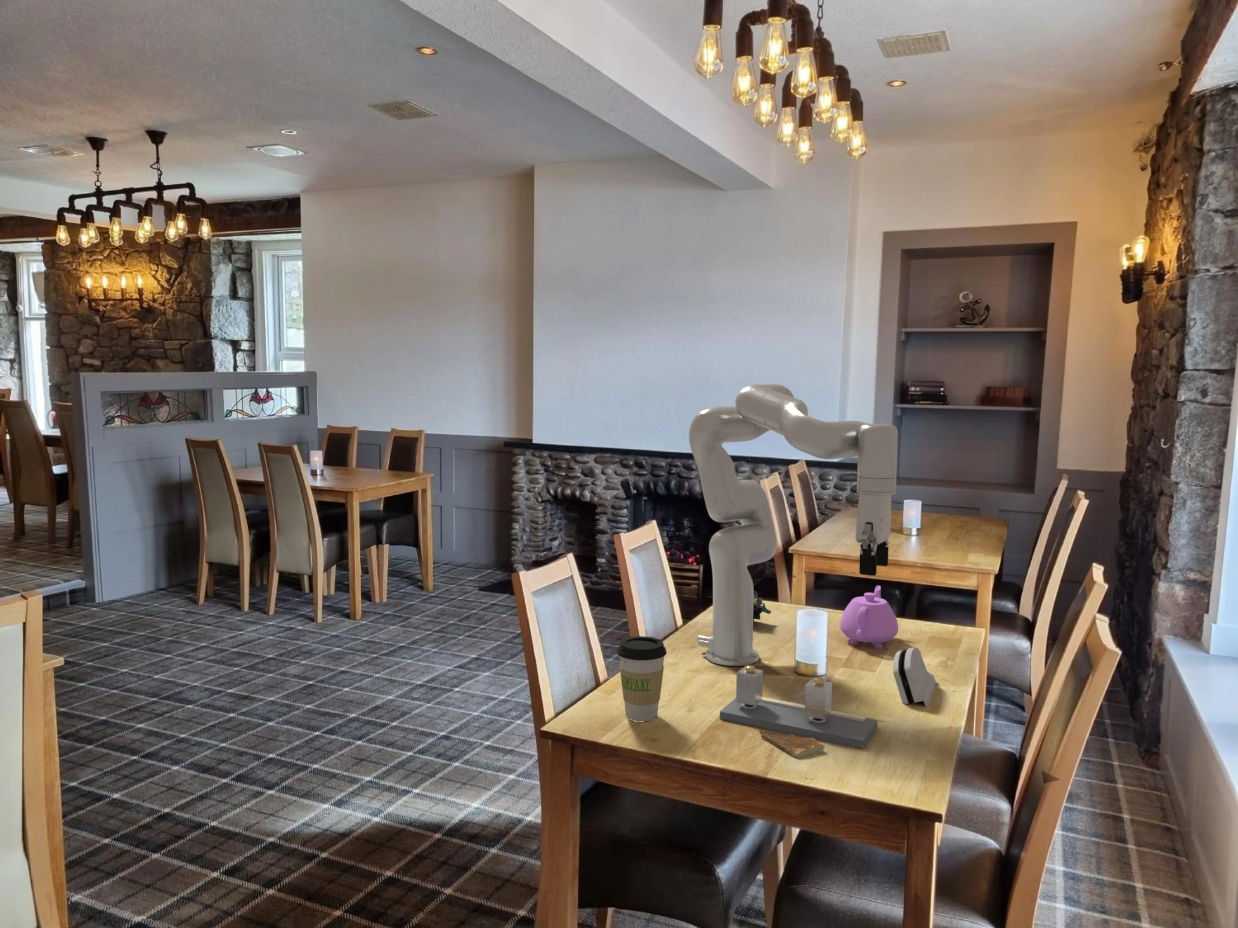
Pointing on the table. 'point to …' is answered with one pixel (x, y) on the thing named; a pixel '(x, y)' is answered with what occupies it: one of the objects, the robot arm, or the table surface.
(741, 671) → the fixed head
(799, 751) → the shard
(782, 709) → the hole plate
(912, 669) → the grey layered slab
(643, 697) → the coffee cup
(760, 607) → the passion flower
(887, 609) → the teapot
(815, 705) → the block
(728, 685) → the table surface
